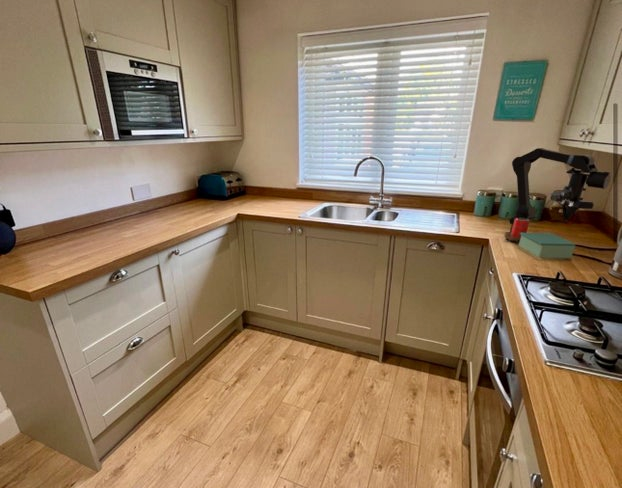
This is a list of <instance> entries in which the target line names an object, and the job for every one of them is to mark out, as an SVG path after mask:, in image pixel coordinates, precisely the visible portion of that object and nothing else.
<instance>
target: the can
mask: <svg viewBox="0 0 622 488" xmlns="http://www.w3.org/2000/svg"><path fill="white" fill-rule="evenodd" d="M530 222H531V221H530V220H529V219H526V218H515V220H514V224H513V228H512V232H511V235H512V236H514V237H520V238H521V234H520V233H528V229H529V226H530Z"/></svg>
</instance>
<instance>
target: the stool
mask: <svg viewBox="0 0 622 488" xmlns="http://www.w3.org/2000/svg"><path fill="white" fill-rule="evenodd" d="M503 237H504V238H505V241H509V240H510V241H515V243H516V244H518V245H519V242H520V239H521V238H520V237H514V236H512V235H511V233H506V232H505V233H504V235H503Z"/></svg>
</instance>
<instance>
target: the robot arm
mask: <svg viewBox="0 0 622 488" xmlns="http://www.w3.org/2000/svg"><path fill="white" fill-rule="evenodd" d="M540 158H541V159H544V160H545V159H546V160H550V161H553V162H558V163H562V164H565V165H567V166H569V167H571V168H570V169H568V170H567V171H566V174H570V177H569V180H568V184H567V185H565V186H564V187H563V189H561V190H557V191H554V192H551V194H550V200H551V201H554V202H556V203H558V204H559V205H560V207H561V208H562V209H561V210H562V219H563V220H565V221H567V220H568V219H569V218H570V217H571V216H572V215H573V214H574V213H576V212H577V211H578V210H579V209H581V210H582V209H584V210H593V209H594V206H595V203H594V202H593V201H591V200H587V199H586V200H584V197H582V194H583V192H585V191H586V190H587V188H586V187H585V185H587V187H588V188H595V189H602V190H606V189H607V188H608V187H609V185H610V183H611V173H612V172H611V171H600V170H598V168H597V167H596V166H597V165H596V164H595V163H596V162H595V157H594V156H593V155H591V154H570V153H566V152H561V151H556V150H551V149H548V148H547V149H546V148H545V147H537V148H535V149H533V150H532V151H529V152H527V153H525V154H523V155H521V156H516V157H515V158H513V160H512V161H511V166H512V170H513V172H514V174H515V176H516V185H517V200H518V205H517V208H516V210H515V216H513V217H511V218H510V219H509V221H508V222H509V224H510V229H509V231H507V232H505V233H511V232H512V228H513V224H514V220H515V218H526V219H529V220H530V222H531V221H533V220H534V219H535V216H536V215H537V213H536V206H535V205H534V206H532V204H531V199H530V184H529V182H530V181H529V174H530V171H531V167H532V164H533V163H535V162H536V161H538V160H539V159H540Z"/></svg>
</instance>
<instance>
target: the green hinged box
mask: <svg viewBox="0 0 622 488" xmlns="http://www.w3.org/2000/svg"><path fill="white" fill-rule="evenodd" d="M518 247H520V248H521V249H523V250H525V251H527V252H528V253H530V254H532V255H533V256H534V257H537V258H539V259H572V256H573V255H574V251H575V248H576V245H575V246H554V245H539V244H538V243H536V242H534V241H532V240H530V239H528V238H526V237H524V236H522V235H521V239H520V242H519V244H518Z"/></svg>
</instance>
